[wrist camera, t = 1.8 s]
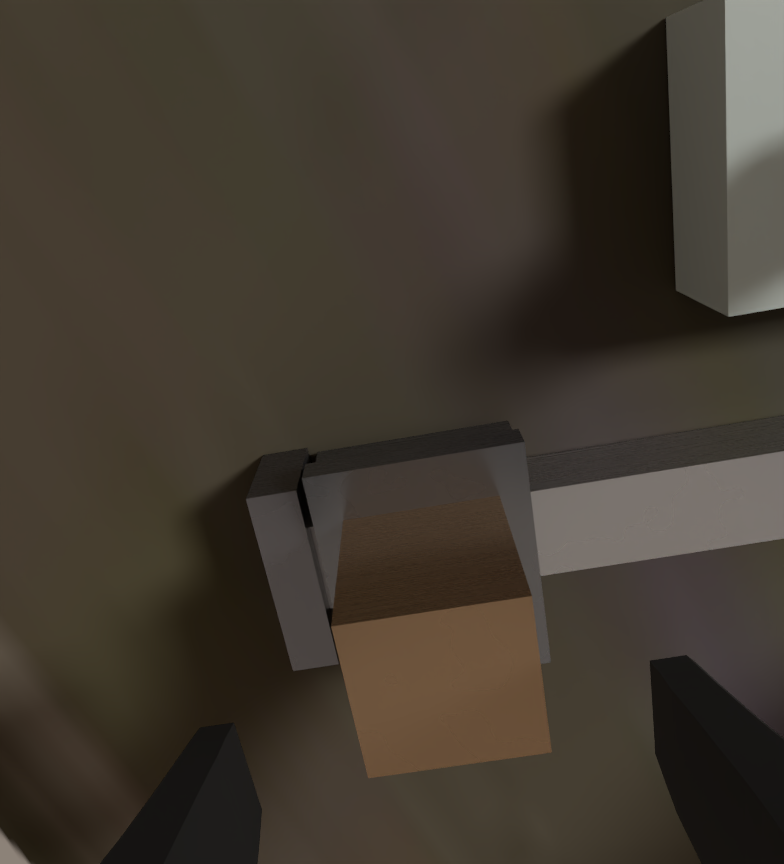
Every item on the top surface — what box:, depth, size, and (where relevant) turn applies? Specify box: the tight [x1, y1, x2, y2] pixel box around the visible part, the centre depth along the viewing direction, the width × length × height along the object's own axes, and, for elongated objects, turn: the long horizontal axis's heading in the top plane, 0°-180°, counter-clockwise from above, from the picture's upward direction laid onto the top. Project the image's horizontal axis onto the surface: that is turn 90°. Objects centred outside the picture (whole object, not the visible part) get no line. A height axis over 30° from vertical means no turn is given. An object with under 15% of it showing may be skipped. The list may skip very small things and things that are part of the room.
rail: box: [246, 416, 784, 671], centre depth 19 cm, size 18×5×3 cm, turn 100°
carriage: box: [302, 421, 552, 778], centre depth 17 cm, size 5×6×7 cm
